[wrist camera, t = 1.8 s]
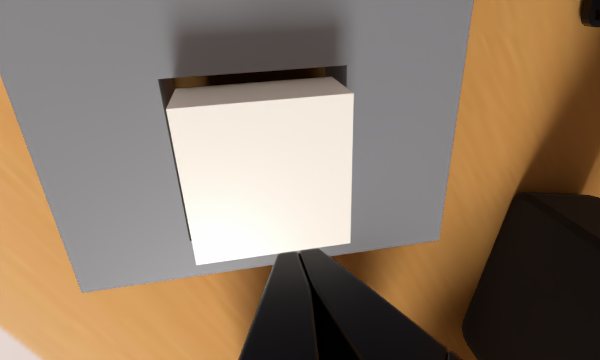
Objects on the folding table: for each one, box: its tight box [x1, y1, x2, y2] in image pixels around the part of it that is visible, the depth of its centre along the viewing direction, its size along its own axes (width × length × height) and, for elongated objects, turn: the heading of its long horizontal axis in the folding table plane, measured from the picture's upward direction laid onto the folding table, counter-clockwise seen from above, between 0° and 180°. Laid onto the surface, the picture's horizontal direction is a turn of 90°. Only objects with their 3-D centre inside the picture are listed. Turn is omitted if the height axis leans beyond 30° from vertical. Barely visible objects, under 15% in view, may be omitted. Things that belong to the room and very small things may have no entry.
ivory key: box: [166, 77, 354, 265], centre depth 12 cm, size 5×5×2 cm
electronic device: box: [462, 192, 600, 360], centre depth 18 cm, size 4×10×10 cm, turn 172°
